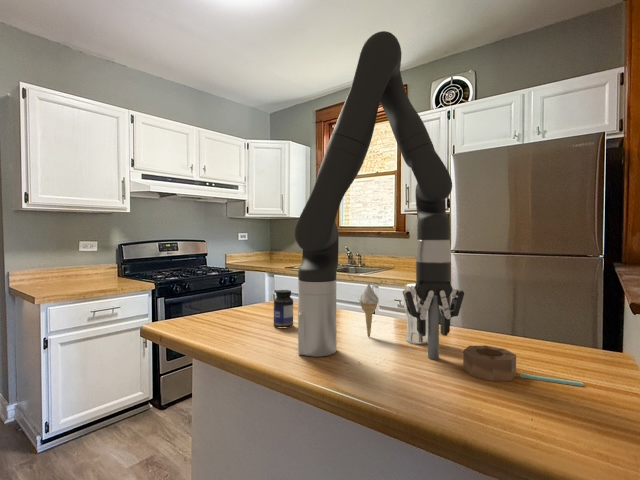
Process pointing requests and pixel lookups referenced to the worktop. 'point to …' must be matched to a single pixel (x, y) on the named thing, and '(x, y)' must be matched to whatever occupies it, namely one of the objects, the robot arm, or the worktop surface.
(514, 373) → the bead
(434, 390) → the worktop surface
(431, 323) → the grey rounded rod
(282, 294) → the pill bottle
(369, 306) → the ice cream cone
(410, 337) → the beer glass
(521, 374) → the teal thin bar
